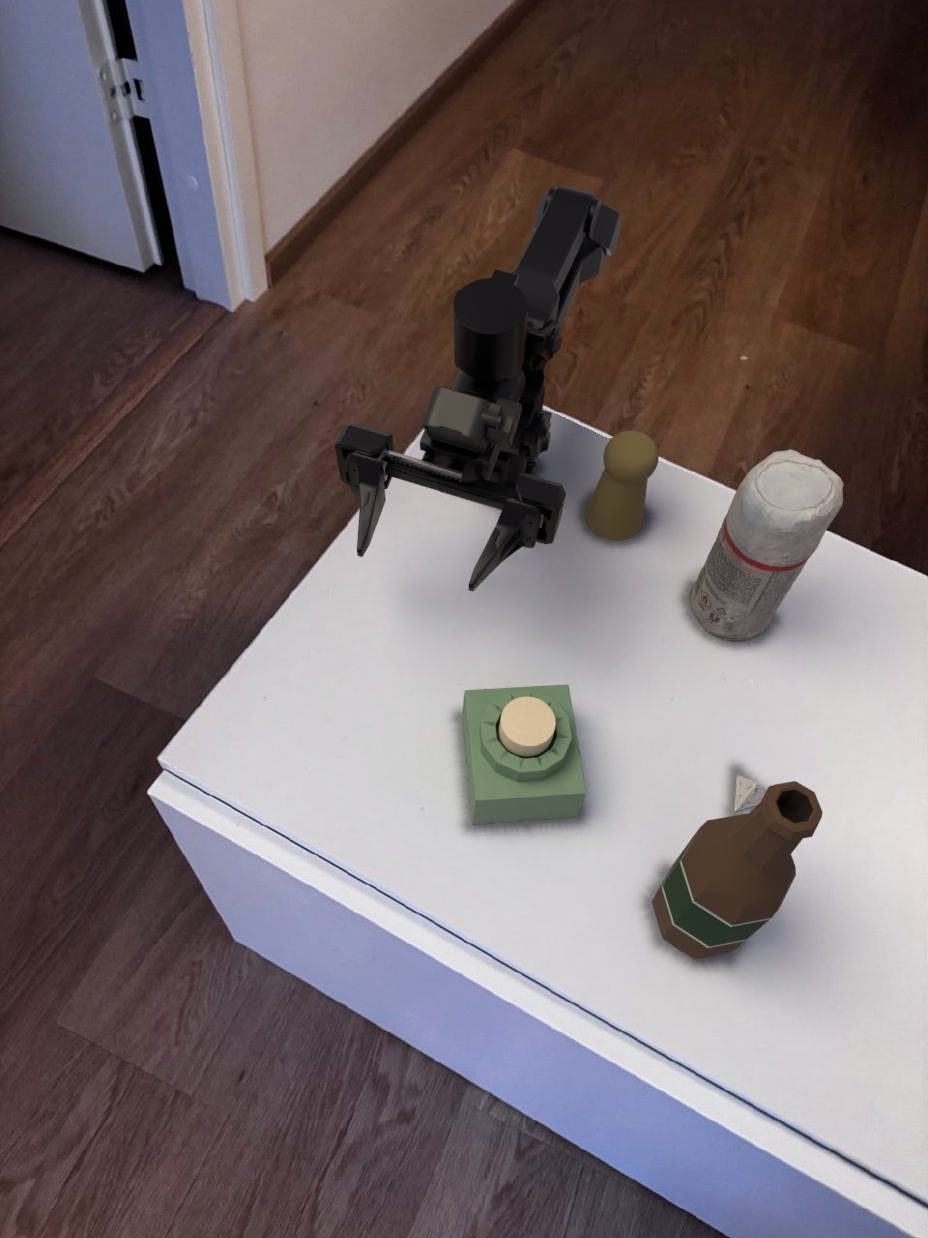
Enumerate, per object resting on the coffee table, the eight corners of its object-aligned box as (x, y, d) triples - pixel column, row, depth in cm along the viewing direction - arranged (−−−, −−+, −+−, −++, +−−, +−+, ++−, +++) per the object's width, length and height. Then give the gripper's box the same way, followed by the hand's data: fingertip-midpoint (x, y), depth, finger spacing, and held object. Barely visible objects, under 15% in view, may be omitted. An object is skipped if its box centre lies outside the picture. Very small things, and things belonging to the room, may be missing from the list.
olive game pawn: (623, 550, 98) (645, 479, 89) (573, 520, 100) (589, 447, 90) (653, 513, 101) (678, 441, 91) (605, 485, 102) (624, 410, 93)
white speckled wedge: (753, 778, 86) (758, 755, 85) (770, 801, 84) (775, 778, 82) (718, 788, 86) (722, 765, 84) (734, 812, 84) (739, 789, 82)
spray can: (778, 648, 93) (860, 519, 76) (693, 644, 92) (755, 514, 76) (765, 575, 97) (840, 438, 80) (684, 571, 97) (741, 433, 80)
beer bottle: (742, 972, 77) (861, 881, 56) (644, 951, 77) (727, 853, 57) (746, 877, 81) (859, 760, 60) (654, 857, 81) (734, 734, 61)
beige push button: (496, 709, 80) (497, 697, 78) (548, 706, 80) (551, 694, 79) (501, 758, 78) (504, 747, 76) (556, 755, 78) (559, 744, 76)
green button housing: (461, 718, 87) (465, 678, 81) (560, 712, 88) (572, 672, 82) (471, 825, 82) (476, 791, 76) (576, 817, 83) (590, 783, 76)
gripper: (366, 320, 75) (288, 481, 69) (597, 385, 73) (538, 557, 67) (375, 407, 86) (308, 555, 79) (579, 466, 83) (525, 623, 77)
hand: (414, 571), depth 76 cm, fingers open, 9 cm apart
